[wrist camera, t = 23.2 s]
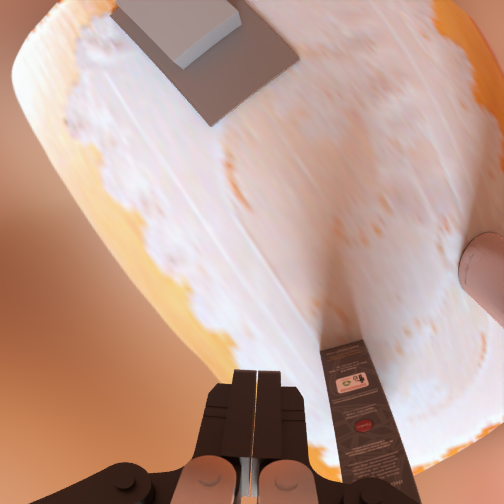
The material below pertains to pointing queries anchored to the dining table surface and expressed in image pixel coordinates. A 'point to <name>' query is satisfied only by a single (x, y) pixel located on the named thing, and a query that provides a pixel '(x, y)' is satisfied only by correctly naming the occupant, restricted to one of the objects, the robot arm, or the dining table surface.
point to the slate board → (221, 63)
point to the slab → (183, 24)
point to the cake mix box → (364, 420)
